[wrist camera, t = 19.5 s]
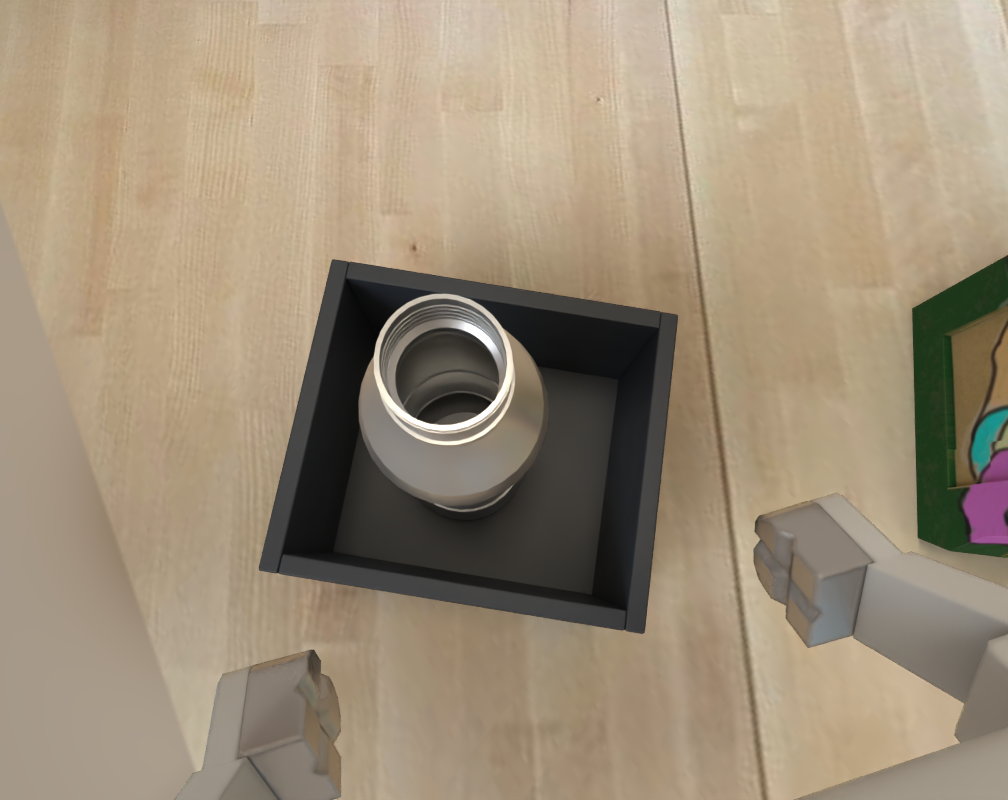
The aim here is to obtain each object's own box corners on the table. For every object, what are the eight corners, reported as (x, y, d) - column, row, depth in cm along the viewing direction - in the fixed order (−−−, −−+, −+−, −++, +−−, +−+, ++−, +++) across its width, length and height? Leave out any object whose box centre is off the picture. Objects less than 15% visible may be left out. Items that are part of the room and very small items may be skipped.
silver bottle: (498, 386, 37) (512, 206, 18) (542, 498, 36) (610, 438, 16) (390, 425, 36) (281, 283, 17) (431, 540, 35) (363, 532, 16)
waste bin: (319, 564, 35) (257, 570, 26) (369, 330, 38) (331, 258, 29) (601, 611, 35) (645, 634, 26) (630, 372, 38) (678, 314, 29)
